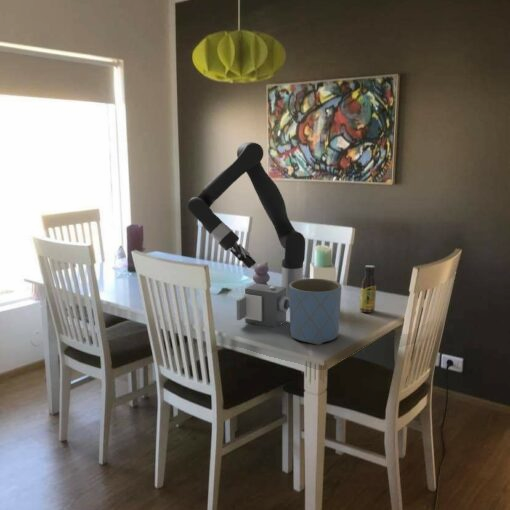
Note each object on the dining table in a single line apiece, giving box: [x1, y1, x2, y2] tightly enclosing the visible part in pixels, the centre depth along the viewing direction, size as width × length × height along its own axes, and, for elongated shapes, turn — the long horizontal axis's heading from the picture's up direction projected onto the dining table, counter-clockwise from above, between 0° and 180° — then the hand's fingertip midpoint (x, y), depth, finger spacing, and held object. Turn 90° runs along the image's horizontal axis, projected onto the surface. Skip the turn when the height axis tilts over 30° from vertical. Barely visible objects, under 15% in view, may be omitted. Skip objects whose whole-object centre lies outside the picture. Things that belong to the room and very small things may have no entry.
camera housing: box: [244, 282, 290, 328], centre depth 222 cm, size 16×9×15 cm, turn 62°
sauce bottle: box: [359, 264, 377, 313], centre depth 234 cm, size 6×6×20 cm
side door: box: [236, 293, 262, 321], centre depth 217 cm, size 8×6×10 cm
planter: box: [289, 278, 342, 346], centre depth 205 cm, size 19×19×20 cm
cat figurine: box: [252, 261, 270, 285], centre depth 274 cm, size 8×8×12 cm
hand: (252, 265), depth 221 cm, fingers open, 8 cm apart
